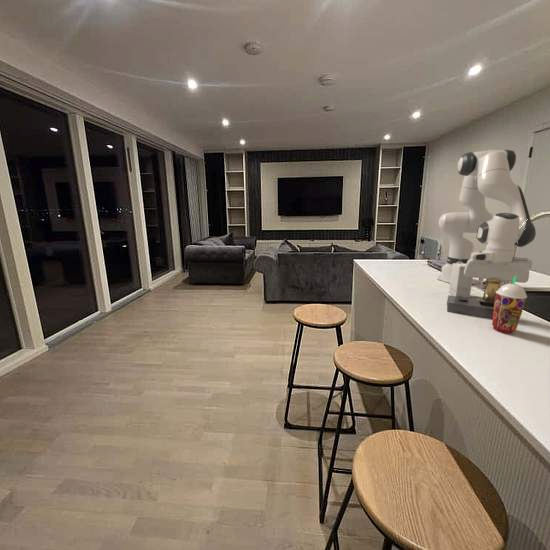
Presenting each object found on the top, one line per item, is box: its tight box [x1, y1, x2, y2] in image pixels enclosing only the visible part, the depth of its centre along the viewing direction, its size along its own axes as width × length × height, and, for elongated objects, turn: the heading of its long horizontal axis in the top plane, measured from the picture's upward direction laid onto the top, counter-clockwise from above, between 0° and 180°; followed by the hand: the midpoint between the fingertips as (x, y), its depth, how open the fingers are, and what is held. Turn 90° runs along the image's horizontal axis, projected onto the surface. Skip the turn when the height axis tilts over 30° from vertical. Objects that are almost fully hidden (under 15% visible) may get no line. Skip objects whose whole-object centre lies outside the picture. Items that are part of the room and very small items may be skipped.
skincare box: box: [448, 263, 474, 298], centre depth 135 cm, size 8×7×16 cm
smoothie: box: [491, 276, 528, 335], centre depth 98 cm, size 8×8×20 cm
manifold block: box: [446, 294, 495, 320], centre depth 116 cm, size 11×20×4 cm, turn 60°
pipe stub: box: [482, 278, 502, 303], centre depth 112 cm, size 5×5×10 cm
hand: (491, 290), depth 112 cm, fingers closed on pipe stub, 4 cm apart
